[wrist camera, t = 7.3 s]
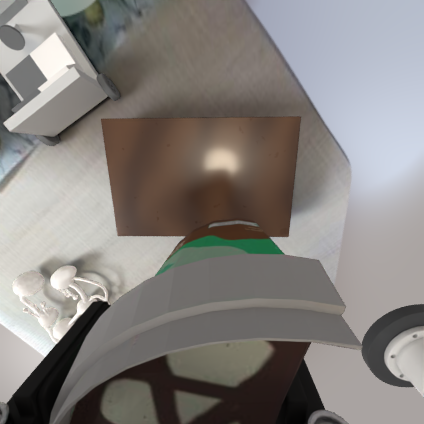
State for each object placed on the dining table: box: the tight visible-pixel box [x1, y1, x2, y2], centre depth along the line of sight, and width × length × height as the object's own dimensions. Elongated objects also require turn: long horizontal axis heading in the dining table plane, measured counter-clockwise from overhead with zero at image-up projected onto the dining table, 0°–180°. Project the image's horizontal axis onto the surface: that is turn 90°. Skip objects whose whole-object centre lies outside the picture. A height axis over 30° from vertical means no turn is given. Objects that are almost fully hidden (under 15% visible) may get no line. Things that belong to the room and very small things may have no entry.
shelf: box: [101, 117, 301, 237], centre depth 27 cm, size 22×14×6 cm, turn 90°
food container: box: [49, 218, 363, 424], centre depth 10 cm, size 12×6×10 cm, turn 167°
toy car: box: [0, 0, 120, 146], centre depth 21 cm, size 18×10×12 cm
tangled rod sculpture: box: [12, 266, 111, 344], centre depth 34 cm, size 19×14×4 cm
